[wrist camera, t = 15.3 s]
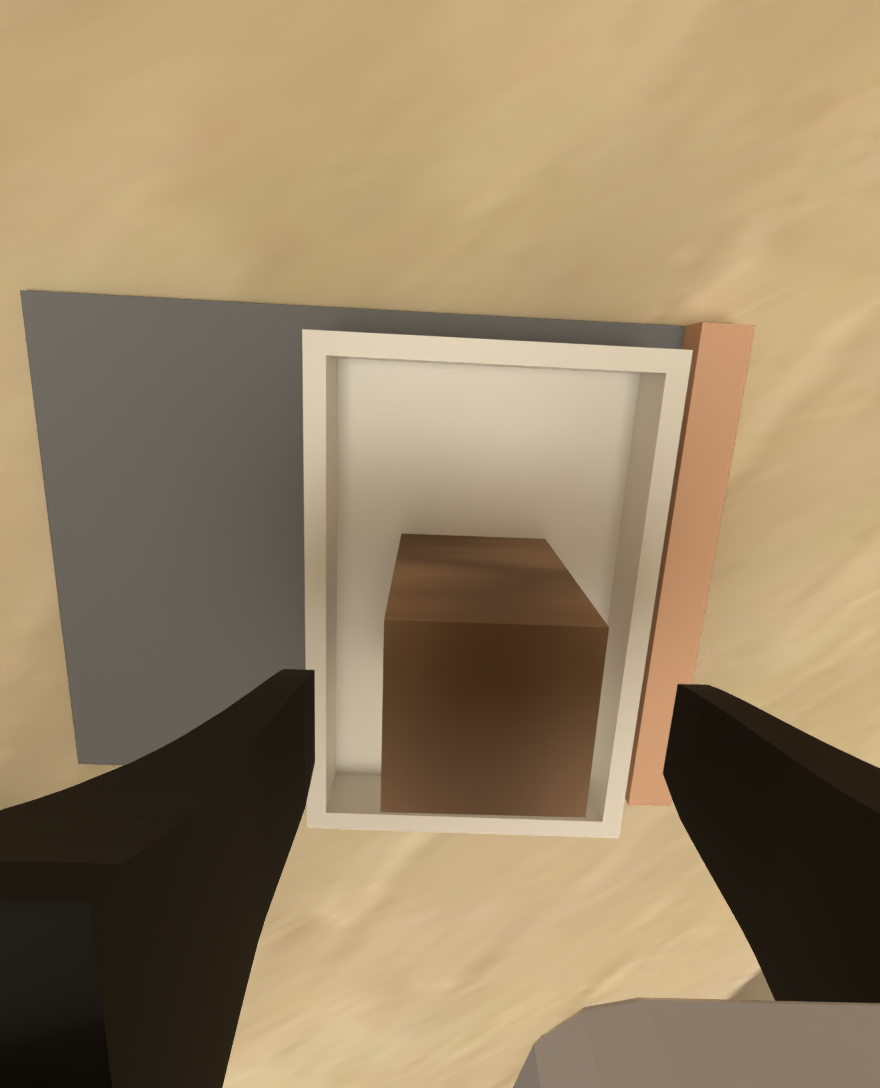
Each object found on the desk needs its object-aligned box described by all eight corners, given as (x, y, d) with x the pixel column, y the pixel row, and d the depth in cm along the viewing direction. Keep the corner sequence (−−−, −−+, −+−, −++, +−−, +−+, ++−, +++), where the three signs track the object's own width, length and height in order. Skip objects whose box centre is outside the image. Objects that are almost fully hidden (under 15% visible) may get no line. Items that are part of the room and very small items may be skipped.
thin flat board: (82, 758, 23) (58, 785, 22) (26, 291, 19) (-10, 283, 17) (655, 778, 24) (670, 805, 22) (729, 329, 20) (755, 325, 18)
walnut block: (397, 665, 20) (380, 812, 13) (401, 533, 19) (383, 619, 12) (533, 669, 20) (585, 817, 13) (545, 538, 19) (608, 627, 12)
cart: (328, 753, 23) (307, 828, 19) (328, 339, 19) (302, 329, 15) (587, 762, 23) (618, 838, 19) (640, 356, 19) (692, 350, 15)
